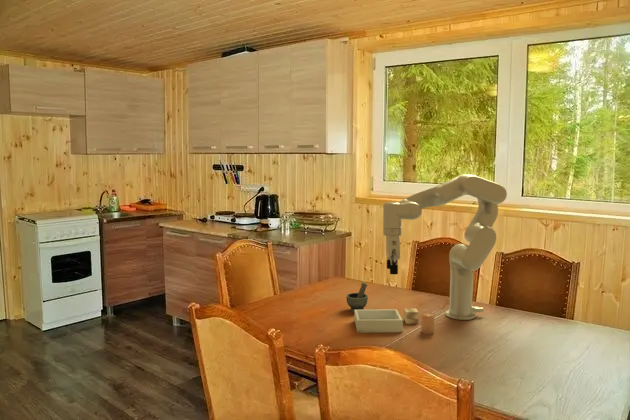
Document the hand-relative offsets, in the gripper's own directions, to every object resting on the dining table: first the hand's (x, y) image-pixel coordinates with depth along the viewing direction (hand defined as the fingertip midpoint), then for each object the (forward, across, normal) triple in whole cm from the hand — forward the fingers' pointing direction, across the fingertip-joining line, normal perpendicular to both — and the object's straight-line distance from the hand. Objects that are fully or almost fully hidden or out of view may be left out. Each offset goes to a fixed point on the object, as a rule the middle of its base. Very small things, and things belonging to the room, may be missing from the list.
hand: (392, 271), depth 219 cm
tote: (+21, -9, +7) cm, 24 cm away
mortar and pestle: (+21, +13, +14) cm, 28 cm away
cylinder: (+21, -15, -12) cm, 29 cm away
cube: (+21, -2, -8) cm, 23 cm away
